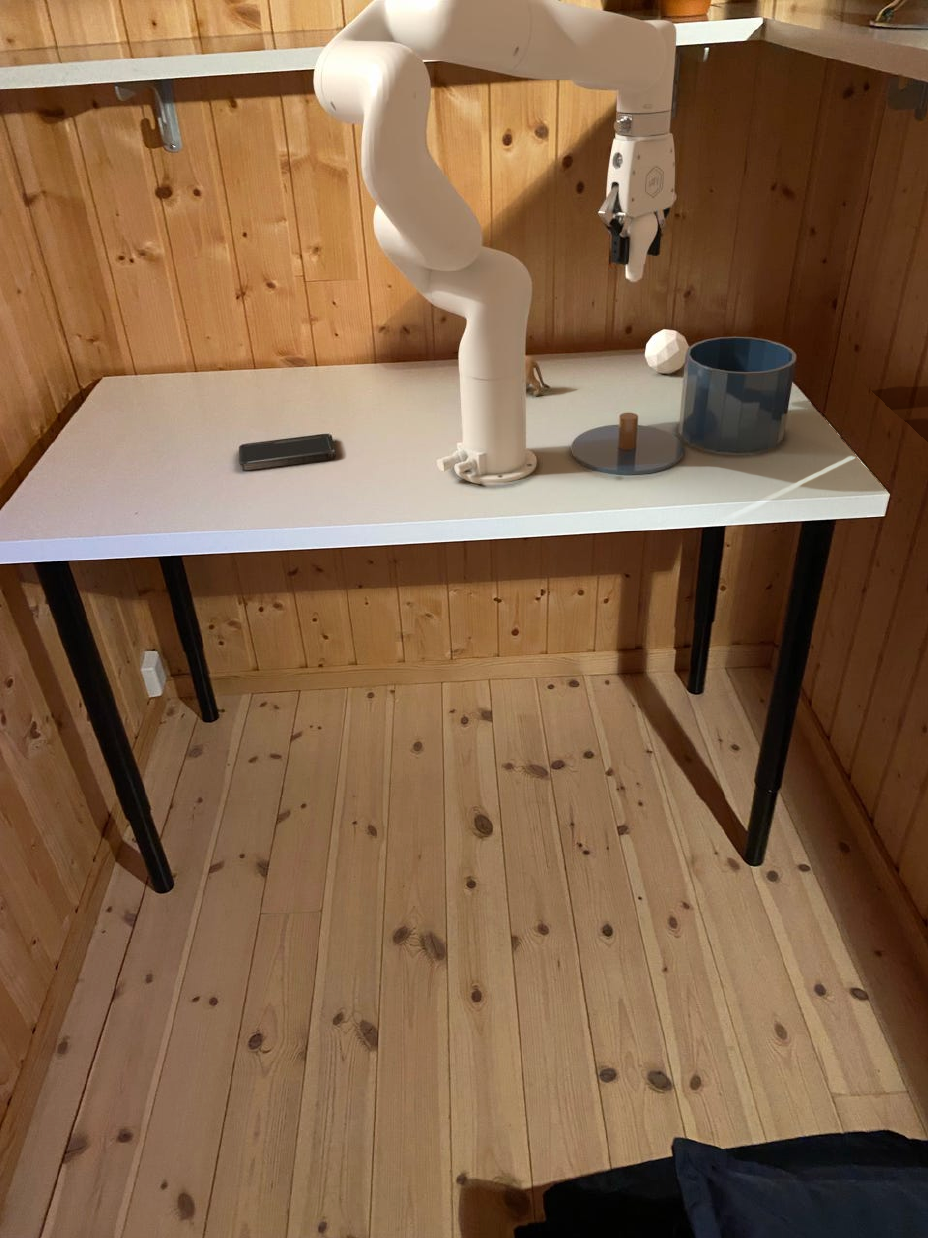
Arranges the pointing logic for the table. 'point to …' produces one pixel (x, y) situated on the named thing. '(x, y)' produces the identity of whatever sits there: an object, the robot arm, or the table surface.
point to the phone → (286, 451)
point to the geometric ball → (666, 351)
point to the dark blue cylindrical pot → (736, 394)
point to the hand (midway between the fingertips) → (635, 257)
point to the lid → (627, 448)
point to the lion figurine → (530, 376)
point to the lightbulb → (639, 243)
